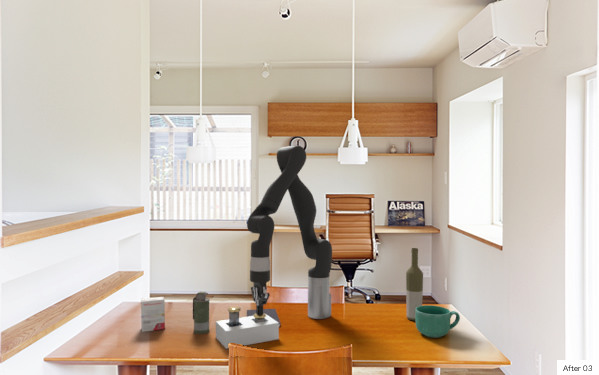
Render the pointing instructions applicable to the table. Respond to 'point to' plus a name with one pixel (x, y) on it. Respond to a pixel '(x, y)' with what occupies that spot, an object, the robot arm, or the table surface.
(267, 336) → the socket block
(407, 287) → the bottle
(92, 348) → the table surface
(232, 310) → the peg
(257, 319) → the peg
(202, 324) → the grenade
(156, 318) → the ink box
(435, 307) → the mug
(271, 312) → the notebook
